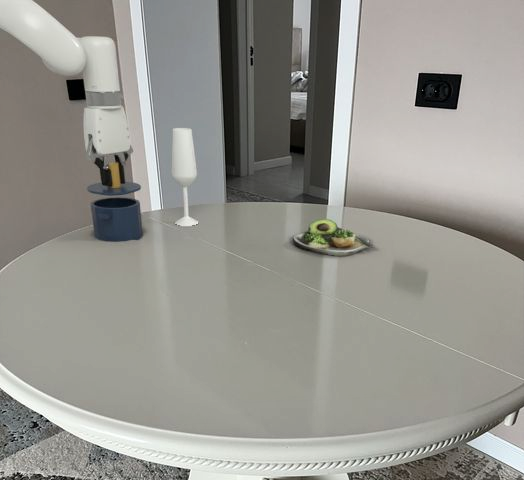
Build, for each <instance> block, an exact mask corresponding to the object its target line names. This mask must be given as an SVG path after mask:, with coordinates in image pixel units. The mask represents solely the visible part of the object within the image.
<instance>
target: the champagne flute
mask: <svg viewBox="0 0 524 480" xmlns="http://www.w3.org/2000/svg"><path fill="white" fill-rule="evenodd" d="M171 138H172V139H171V140H172V141H171V142H172V144H171V170H170V171H171V177H172V178H173V180H174V181H175V182H176V183H177V184H178V185H179V186H180V187H182V197H183V216H182V217H181V218H179V219H177V220H176V221H175V222H174V225H175V224H177V225H176V226H178V225H180V226H179V227H193V226H192V225H195V226H197V225H196V224H198V222H199V221H198V220H196V219H194V218H192V217H191V216H190V215H189V199H188V198H189V196H188V193H189V192H188V187H189V186H191V184H193V183H194V181H195V180H196V179H197V176H198V170H197V169H198V168H197V161H196V160H197V159H196V154H195V153H196V152H195V146H194V138H193V130H192V128H189V127H175V128H172V137H171ZM198 225H199V224H198Z"/></svg>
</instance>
